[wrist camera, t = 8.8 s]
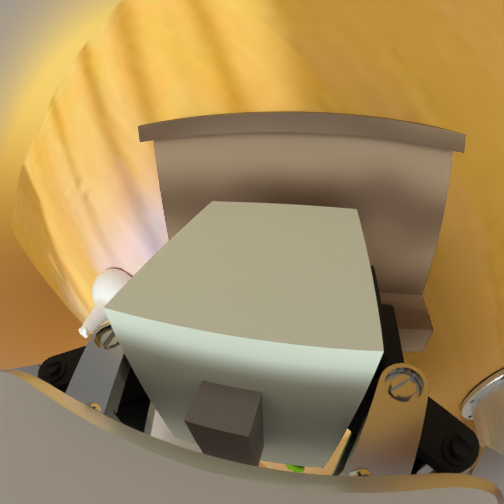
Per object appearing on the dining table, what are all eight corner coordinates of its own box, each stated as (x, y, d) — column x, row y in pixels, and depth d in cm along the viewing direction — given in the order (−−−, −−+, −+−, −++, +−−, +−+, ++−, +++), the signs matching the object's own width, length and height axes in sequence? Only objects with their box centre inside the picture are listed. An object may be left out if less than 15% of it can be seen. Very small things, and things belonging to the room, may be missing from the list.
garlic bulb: (159, 298, 29) (123, 348, 22) (130, 318, 31) (96, 362, 24) (120, 254, 27) (74, 295, 20) (95, 279, 30) (55, 318, 23)
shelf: (405, 288, 21) (422, 352, 15) (197, 270, 25) (159, 322, 19) (433, 126, 14) (483, 140, 8) (177, 118, 19) (116, 130, 13)
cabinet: (356, 209, 9) (387, 407, 3) (336, 339, 12) (318, 494, 6) (211, 201, 10) (72, 341, 4) (227, 326, 13) (164, 460, 7)
